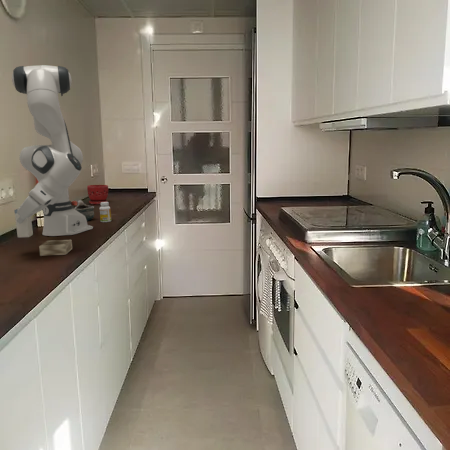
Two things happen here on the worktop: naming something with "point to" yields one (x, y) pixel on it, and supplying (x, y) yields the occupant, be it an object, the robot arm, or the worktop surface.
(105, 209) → the supplement bottle
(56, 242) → the holder
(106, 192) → the plant pot
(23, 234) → the peg
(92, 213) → the mug
